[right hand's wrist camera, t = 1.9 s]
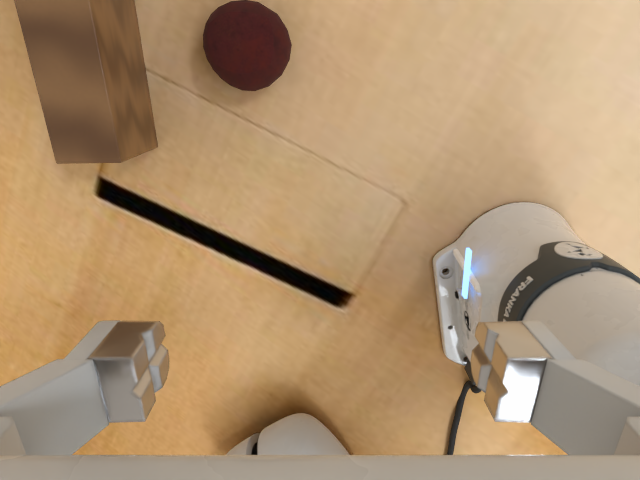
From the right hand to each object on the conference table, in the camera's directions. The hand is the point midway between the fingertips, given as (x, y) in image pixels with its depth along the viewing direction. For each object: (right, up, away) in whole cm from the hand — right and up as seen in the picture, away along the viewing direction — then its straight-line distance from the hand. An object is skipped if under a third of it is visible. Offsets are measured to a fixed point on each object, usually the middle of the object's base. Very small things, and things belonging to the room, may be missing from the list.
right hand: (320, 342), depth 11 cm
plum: (-6, +21, +29) cm, 37 cm away
